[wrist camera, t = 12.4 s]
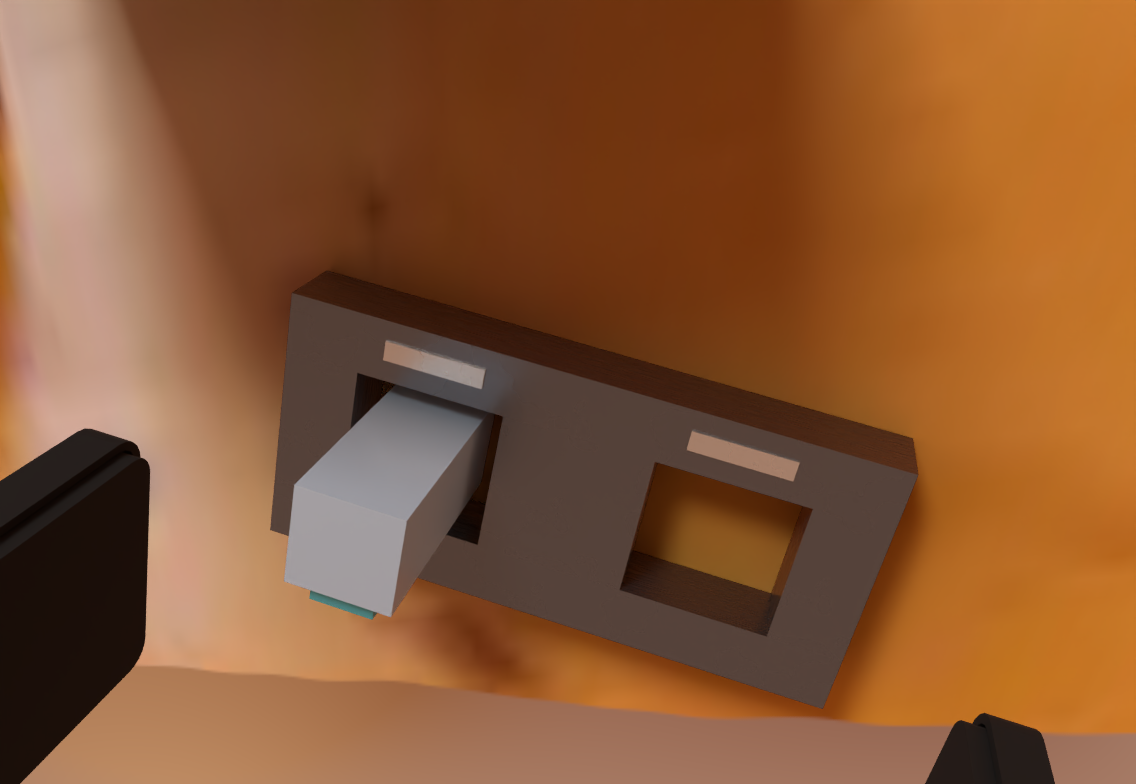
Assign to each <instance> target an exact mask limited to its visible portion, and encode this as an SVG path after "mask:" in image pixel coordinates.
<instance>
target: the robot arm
mask: <svg viewBox="0 0 1136 784" xmlns="http://www.w3.org/2000/svg"><path fill="white" fill-rule="evenodd" d="M149 491H150V467H149V464H148V462H147V461H146V460H145V459H143V458H140V451H139V449H138V446H137V445H136V444H134V443H133V442H131V441H128V440H125V439H122V438H118V437H115V436H112V435H109V434H106V433H103V432H100V431H96V430H93V429H83V430H81V431H78V432H76V433H75V434H73V435H72V436H70V437H69V438H67V439H65V440H64V441H62V442H61V443H59V444H58V445H56V446H54V447H53V448H51V449H50V450H48V451H47V452H45V453H43V454H42V455H40V456H39V457H37V458H36V459H34V460H33V461H31V462H29V463H28V464H26V465H25V466H23V467H22V468H20V469H18V470H17V471H15V472H14V473H12V474H11V475H9V476H7V477H6V478H4V479H3V480H1V481H0V784H20V783H21V782H22V781H23V780H24V779H25V778H26V777H27V776H28V775H29V774H30V773H31V772H32V771H33V770H34V769H35V768H36V767H37V766H38V765H39V764H40V763H41V762H42V761H43V760H44V759H45V758H46V756H48V754H50V752H52V750H53V749H54V748H55V747H56V746H57V745H58V744H59V743H60V742H61V741H62V740H63V739H64V738H65V737H66V736H67V735H68V734H69V733H70V732H71V731H72V730H73V729H74V728H75V727H76V726H77V725H78V724H79V723H80V722H81V721H82V720H83V719H84V718H85V717H86V716H87V715H88V714H89V713H90V711H92V710H93V709H94V708H95V707H96V706H97V704H98V703H99V702H100V701H101V700H102V699H103V698H104V697H105V696H106V695H107V694H108V693H109V692H110V691H111V690H112V689H113V688H114V687H115V686H116V685H117V684H118V683H119V682H120V681H121V680H122V678H124V677H125V676H126V675H127V674H128V673H129V672H130V671H131V669H132V668H133V667H134V666H135V664H136V662H137V661H138V659H139V657H140V655H141V653H142V650H143V647H144V643H145V630H146V595H147V560H148V526H149ZM925 784H1055V782H1054V778H1053V774H1052V770H1051V766H1050V763H1049V758H1048V755H1047V750H1046V747H1045V743H1044V739H1043V737H1042V735H1041V733H1040V732H1039V731H1038V730H1036V729H1033V728H1030V727H1027V726H1024V725H1021V724H1018V723H1014V722H1011V721H1008V720H1005V719H1002V718H999V717H996V716H992V715H989V714H986V713H983V714H980V715H979V716H978V717H977V718H976V719H975V720H974V722H973V724H971V723H968V722H965V721H962V720H960V721H958V722H957V723H955V725H954V726H953V728H952V730H951V732H950V734H949V736H948V738H947V740H946V742H945V744H944V746H943V748H942V750H941V753H940V754H939V756H938V759H937V761H936V763H935V765H934V767H933V769H932V771H931V773H930V775H929V777H928V779H927V781H926V783H925Z"/></svg>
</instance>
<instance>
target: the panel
mask: <svg viewBox="0 0 1136 784" xmlns="http://www.w3.org/2000/svg"><path fill="white" fill-rule="evenodd" d="M383 381H386V382H390V383H393V384H396V385H400V386H403V387H406V388H410V389H413V390H416V391H420V392H423V393H427V394H430V395H433V396H437V397H440V398H443V399H447V400H450V401H453V402H457V403H460V404H463V405H467V406H470V407H473V408H477V409H480V410H483V411H487V412H490V413H493V414H497V415H500V416H503V420H502V425H501V430H500V435H499V440H498V445H497V450H496V455H495V460H494V466H493V471H492V476H491V481H490V486H489V491H488V496H487V501H486V505H485V504H482V503H478V502H475V501H472V500H469V501H468V503H467V504H466V506H465V507H464V509H463V510H462V512H461V513H460V515H459V516H458V518H457V519H456V521H455V522H454V524H453V525H452V527H451V528H450V530H449V531H448V533H447V534H446V536H445V537H444V539H443V540H442V542H441V543H440V545H439V546H438V548H437V549H436V551H435V552H434V554H433V555H432V557H431V558H430V560H429V561H428V563H427V564H426V565H425V567H424V568H423V570H422V571H421V573H420V574H419V576H418V577H417V578H420V579H423V580H426V581H429V582H432V583H436V584H439V585H442V586H445V587H448V588H451V589H454V590H457V591H460V592H463V593H466V594H469V595H473V596H476V597H479V598H482V599H485V600H488V601H491V602H494V603H497V604H500V605H503V606H507V607H510V608H513V609H516V610H519V611H522V612H525V613H528V614H531V615H534V616H537V617H540V618H544V619H547V620H550V621H553V622H556V623H559V624H562V625H565V626H568V627H571V628H574V629H577V630H581V631H584V632H587V633H590V634H593V635H596V636H599V637H602V638H605V639H608V640H611V641H614V642H618V643H621V644H624V645H627V646H630V647H633V648H636V649H639V650H642V651H645V652H648V653H651V654H655V655H658V656H661V657H664V658H667V659H670V660H673V661H676V662H679V663H682V664H685V665H689V666H692V667H695V668H698V669H701V670H704V671H707V672H710V673H713V674H716V675H719V676H722V677H726V678H729V679H732V680H735V681H738V682H741V683H744V684H747V685H750V686H753V687H756V688H759V689H763V690H766V691H769V692H772V693H775V694H778V695H781V696H784V697H787V698H790V699H793V700H796V701H800V702H803V703H806V704H809V705H812V706H815V707H818V708H821V709H823V707H824V705H825V702H826V700H827V697H828V695H829V692H830V690H831V687H832V685H833V683H834V680H835V678H836V675H837V673H838V670H839V668H840V665H841V663H842V661H843V658H844V656H845V653H846V651H847V648H848V646H849V643H850V641H851V638H852V636H853V634H854V631H855V629H856V626H857V624H858V621H859V619H860V616H861V614H862V612H863V609H864V607H865V604H866V602H867V599H868V597H869V594H870V592H871V590H872V587H873V585H874V582H875V580H876V577H877V575H878V572H879V570H880V567H881V565H882V563H883V560H884V558H885V555H886V553H887V550H888V548H889V545H890V543H891V541H892V538H893V536H894V533H895V531H896V528H897V526H898V523H899V521H900V519H901V516H902V514H903V511H904V509H905V506H906V504H907V501H908V499H909V496H910V494H911V492H912V489H913V487H914V484H915V482H916V479H917V477H918V470H917V463H916V456H915V449H914V442H913V439H912V438H909V437H905V436H902V435H898V434H895V433H891V432H888V431H884V430H881V429H877V428H874V427H870V426H867V425H864V424H860V423H857V422H853V421H850V420H846V419H843V418H839V417H836V416H832V415H829V414H825V413H822V412H818V411H815V410H811V409H808V408H804V407H801V406H797V405H794V404H790V403H787V402H783V401H780V400H776V399H773V398H769V397H766V396H762V395H759V394H755V393H752V392H748V391H745V390H741V389H738V388H734V387H731V386H727V385H724V384H720V383H717V382H713V381H710V380H706V379H703V378H699V377H696V376H692V375H689V374H685V373H682V372H678V371H675V370H671V369H668V368H664V367H661V366H657V365H654V364H651V363H647V362H644V361H640V360H637V359H633V358H630V357H626V356H623V355H619V354H616V353H612V352H609V351H605V350H602V349H598V348H595V347H591V346H588V345H584V344H581V343H577V342H574V341H570V340H567V339H563V338H560V337H556V336H553V335H549V334H546V333H542V332H539V331H535V330H532V329H528V328H525V327H521V326H518V325H514V324H511V323H507V322H504V321H500V320H497V319H493V318H490V317H486V316H483V315H479V314H476V313H472V312H469V311H465V310H462V309H458V308H455V307H451V306H448V305H444V304H441V303H437V302H434V301H431V300H427V299H424V298H420V297H417V296H413V295H410V294H406V293H403V292H399V291H396V290H392V289H389V288H385V287H382V286H378V285H375V284H371V283H368V282H364V281H361V280H357V279H354V278H350V277H347V276H343V275H340V274H336V273H333V272H329V271H326V272H324V273H322V274H321V275H319V276H318V277H316V278H315V279H313V280H311V281H310V282H308V283H307V284H305V285H303V286H302V287H300V288H299V289H297V290H296V291H294V292H292V297H291V308H290V319H289V330H288V341H287V352H286V363H285V374H284V385H283V396H282V407H281V418H280V429H279V440H278V451H277V462H276V473H275V484H274V495H273V506H272V517H271V528H270V530H272V531H275V532H278V533H281V534H284V535H287V536H289V530H290V520H291V511H292V502H293V492H294V485H295V484H296V483H297V482H298V481H299V480H300V479H301V478H302V477H303V476H304V475H305V474H306V473H307V472H308V471H309V470H310V469H311V468H312V467H313V466H314V465H315V464H316V463H317V462H318V461H319V460H320V459H321V458H322V457H323V456H324V455H325V454H326V453H327V452H328V451H329V450H330V449H331V448H332V447H333V446H334V445H335V444H336V443H337V442H338V441H339V440H340V439H341V438H342V437H343V436H344V435H345V434H346V433H347V432H348V431H349V430H350V429H351V428H352V427H353V426H354V425H355V424H356V423H357V422H358V421H359V420H360V419H361V418H362V417H363V416H364V415H365V414H366V413H367V412H368V411H369V410H371V409H372V408H373V407H374V406H375V405H376V404H377V403H378V402H379V401H380V397H381V390H382V383H383ZM657 463H661V464H664V465H667V466H671V467H674V468H677V469H681V470H684V471H687V472H691V473H694V474H697V475H701V476H704V477H707V478H711V479H714V480H717V481H721V482H724V483H727V484H731V485H734V486H738V487H741V488H744V489H748V490H751V491H754V492H758V493H761V494H764V495H768V496H771V497H774V498H778V499H781V500H784V501H788V502H791V503H794V504H798V505H801V506H802V509H801V512H800V515H799V517H798V520H797V523H796V526H795V529H794V531H793V534H792V537H791V540H790V543H789V545H788V548H787V551H786V554H785V557H784V559H783V562H782V565H781V568H780V571H779V573H778V576H777V579H776V582H775V585H774V587H773V590H772V593H767V592H764V591H761V590H758V589H755V588H751V587H748V586H745V585H742V584H739V583H735V582H732V581H729V580H726V579H722V578H719V577H716V576H713V575H710V574H706V573H703V572H700V571H697V570H694V569H690V568H687V567H684V566H681V565H678V564H674V563H671V562H668V561H665V560H661V559H658V558H655V557H652V556H649V555H645V554H642V553H639V552H636V551H633V549H634V545H635V542H636V538H637V534H638V531H639V527H640V524H641V520H642V516H643V513H644V509H645V506H646V502H647V498H648V495H649V491H650V488H651V484H652V480H653V477H654V473H655V470H656V466H657Z"/></svg>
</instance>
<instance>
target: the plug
mask: <svg viewBox="0 0 1136 784" xmlns="http://www.w3.org/2000/svg"><path fill="white" fill-rule="evenodd" d="M494 416H495V414H493V413H490V412H487V411H483V410H480V409H477V408H473V407H470V406H467V405H463V404H460V403H457V402H453V401H450V400H447V399H443V398H440V397H437V396H433V395H430V394H427V393H423V392H420V391H416V390H413V389H410V388H406V387H403V386H400V385H395V386H394V387H393V388H392V389H391V390H390V391H389V392H388V393H387V394H386V395H385V396H384V397H383V398H382V399H381V400H380V401H379V402H378V403H377V404H376V405H375V406H374V407H373V408H372V409H371V410H369V411H368V412H367V413H366V414H365V415H364V416H363V417H362V418H361V419H360V420H359V421H358V422H357V423H356V424H355V425H354V426H353V427H352V428H351V429H350V430H349V431H348V432H347V433H346V434H345V435H344V436H343V437H342V438H341V439H340V440H339V441H338V442H337V443H336V444H335V445H334V446H333V447H332V448H331V449H330V450H329V451H328V452H327V453H326V454H325V455H324V456H323V457H322V458H321V459H320V460H319V461H318V462H317V463H316V464H315V465H314V466H313V467H312V468H311V469H310V470H309V471H308V472H307V473H306V474H305V475H304V476H303V477H302V478H301V479H300V480H299V481H298V482H297V483H296V484H295V485H294V492H293V502H292V511H291V520H290V530H289V539H288V549H287V558H286V567H285V577H284V582H287V583H290V584H293V585H296V586H299V587H302V588H305V589H308V590H311V591H310V599H312V600H315V601H318V602H321V603H324V604H327V605H330V606H333V607H336V608H339V609H342V610H345V611H348V612H351V613H354V614H357V615H360V616H363V617H366V618H369V619H373V618H374V617H375V615H376V614H377V613H380V614H383V615H386V616H389V617H391V616H392V615H393V613H394V612H395V610H396V609H397V607H398V606H399V604H400V603H401V601H402V600H403V598H404V597H405V595H406V594H407V592H408V591H409V589H410V588H411V586H412V585H413V583H414V582H415V580H416V579H417V577H418V576H419V574H420V573H421V571H422V570H423V568H424V567H425V565H426V564H427V563H428V561H429V560H430V558H431V557H432V555H433V554H434V552H435V551H436V549H437V548H438V546H439V545H440V543H441V542H442V540H443V539H444V537H445V536H446V534H447V533H448V531H449V530H450V528H451V527H452V525H453V524H454V522H455V521H456V519H457V518H458V516H459V515H460V513H461V512H462V510H463V509H464V507H465V506H466V504H467V503H468V501H469V500H470V498H471V497H472V495H473V494H474V492H475V491H476V489H477V488H478V486H479V485H480V483H481V481H482V476H483V471H484V466H485V461H486V456H487V451H488V446H489V441H490V436H491V431H492V426H493V421H494Z"/></svg>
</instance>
